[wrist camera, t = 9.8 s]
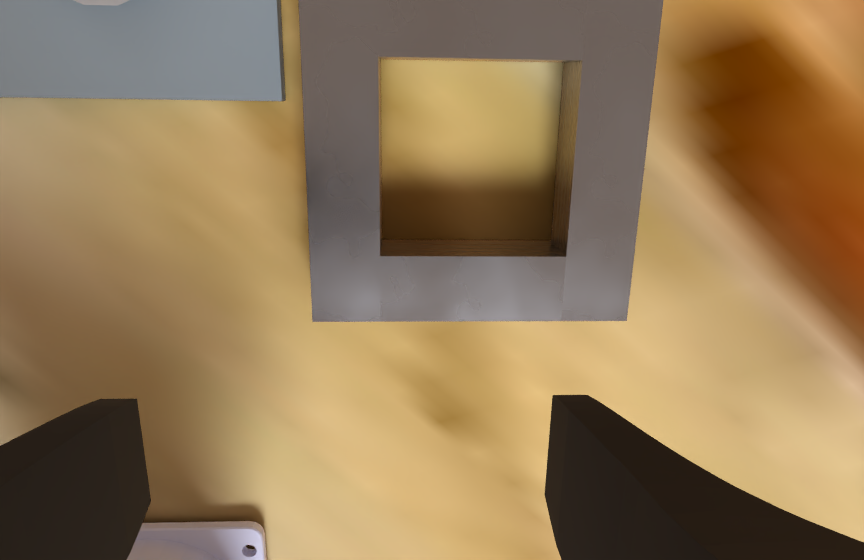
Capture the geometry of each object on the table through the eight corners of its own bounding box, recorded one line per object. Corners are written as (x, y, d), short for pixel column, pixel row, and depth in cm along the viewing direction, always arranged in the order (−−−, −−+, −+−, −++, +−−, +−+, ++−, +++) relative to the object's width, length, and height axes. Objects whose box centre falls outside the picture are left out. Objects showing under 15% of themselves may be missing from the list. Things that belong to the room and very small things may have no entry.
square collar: (606, 298, 21) (626, 320, 19) (320, 299, 21) (312, 321, 19) (637, -10, 18) (665, -21, 16) (308, -18, 18) (297, -30, 16)
